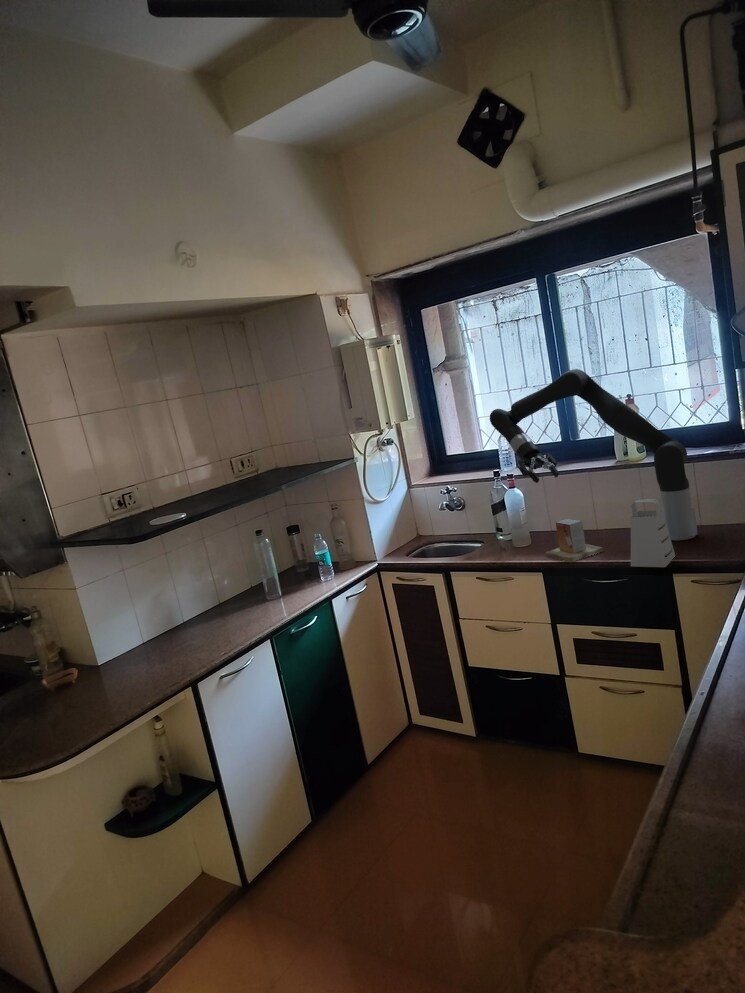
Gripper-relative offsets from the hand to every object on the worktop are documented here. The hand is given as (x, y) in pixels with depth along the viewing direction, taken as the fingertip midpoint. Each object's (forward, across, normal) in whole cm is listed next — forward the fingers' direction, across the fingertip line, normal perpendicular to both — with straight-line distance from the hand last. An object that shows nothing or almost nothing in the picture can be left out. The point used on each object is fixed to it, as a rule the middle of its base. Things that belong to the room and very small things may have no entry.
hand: (547, 478), depth 241 cm
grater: (+47, +6, -8) cm, 48 cm away
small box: (+25, -2, +11) cm, 27 cm away
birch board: (+26, -2, +12) cm, 29 cm away
